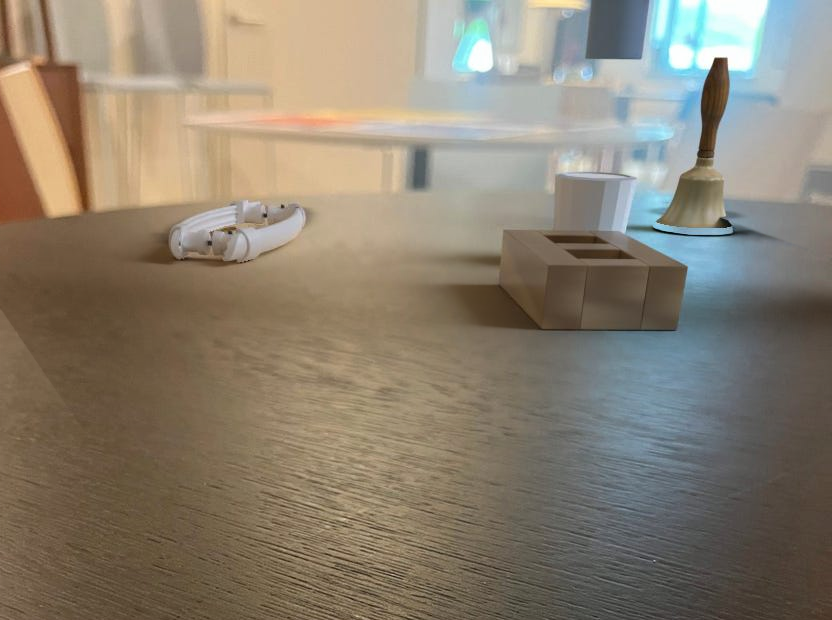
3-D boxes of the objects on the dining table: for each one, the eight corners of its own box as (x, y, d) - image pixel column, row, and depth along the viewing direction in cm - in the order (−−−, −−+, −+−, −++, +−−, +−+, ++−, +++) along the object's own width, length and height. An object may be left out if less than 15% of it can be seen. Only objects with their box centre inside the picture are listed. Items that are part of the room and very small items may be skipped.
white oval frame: (323, 228, 105) (260, 267, 84) (230, 224, 106) (145, 261, 85) (323, 199, 104) (259, 232, 82) (229, 196, 105) (143, 227, 84)
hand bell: (731, 238, 103) (765, 57, 96) (647, 232, 106) (674, 55, 98) (735, 228, 110) (768, 58, 102) (657, 223, 113) (682, 57, 105)
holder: (611, 285, 80) (619, 230, 78) (677, 330, 66) (688, 266, 65) (498, 284, 79) (503, 229, 77) (541, 329, 66) (548, 264, 64)
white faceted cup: (575, 271, 85) (586, 180, 81) (530, 258, 90) (538, 171, 87) (641, 267, 87) (655, 178, 84) (594, 254, 93) (604, 170, 89)
